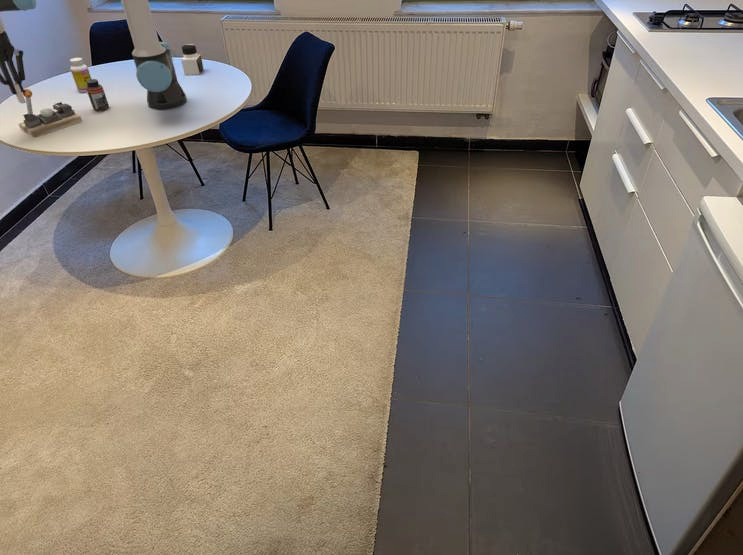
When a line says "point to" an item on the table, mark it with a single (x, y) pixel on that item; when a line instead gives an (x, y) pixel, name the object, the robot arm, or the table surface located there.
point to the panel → (49, 121)
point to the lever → (28, 100)
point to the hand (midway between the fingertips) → (22, 102)
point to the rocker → (58, 108)
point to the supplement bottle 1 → (80, 74)
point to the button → (46, 113)
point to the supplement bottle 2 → (97, 95)
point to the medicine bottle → (191, 60)
